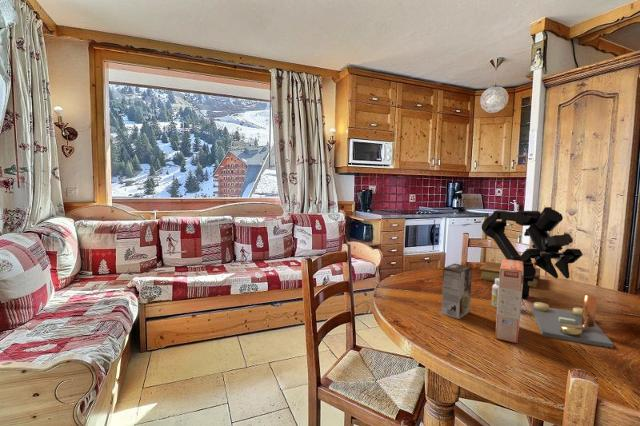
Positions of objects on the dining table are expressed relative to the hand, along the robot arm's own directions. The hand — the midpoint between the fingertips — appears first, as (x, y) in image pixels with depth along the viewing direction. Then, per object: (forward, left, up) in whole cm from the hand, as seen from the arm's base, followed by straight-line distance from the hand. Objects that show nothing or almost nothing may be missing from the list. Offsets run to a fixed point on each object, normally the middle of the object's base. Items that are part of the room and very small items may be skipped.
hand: (562, 277), depth 108 cm
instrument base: (+1, -7, -14) cm, 15 cm away
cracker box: (-16, -21, -14) cm, 30 cm away
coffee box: (-31, -12, -14) cm, 36 cm away
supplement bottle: (-17, +3, -14) cm, 22 cm away
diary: (-11, +44, -14) cm, 48 cm away
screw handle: (+2, -13, -12) cm, 18 cm away
